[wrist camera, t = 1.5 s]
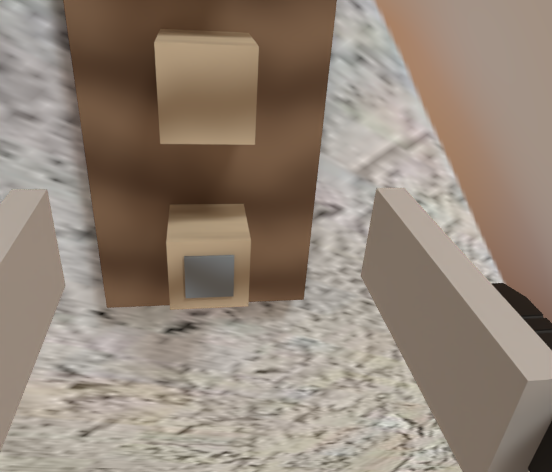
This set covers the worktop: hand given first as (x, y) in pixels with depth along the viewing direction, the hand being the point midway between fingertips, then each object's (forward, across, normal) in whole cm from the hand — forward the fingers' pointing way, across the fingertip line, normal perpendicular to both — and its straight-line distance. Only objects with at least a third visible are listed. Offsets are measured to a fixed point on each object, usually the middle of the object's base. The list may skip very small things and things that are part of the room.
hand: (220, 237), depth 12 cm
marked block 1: (+19, 0, -11) cm, 22 cm away
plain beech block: (+19, 0, 0) cm, 19 cm away
